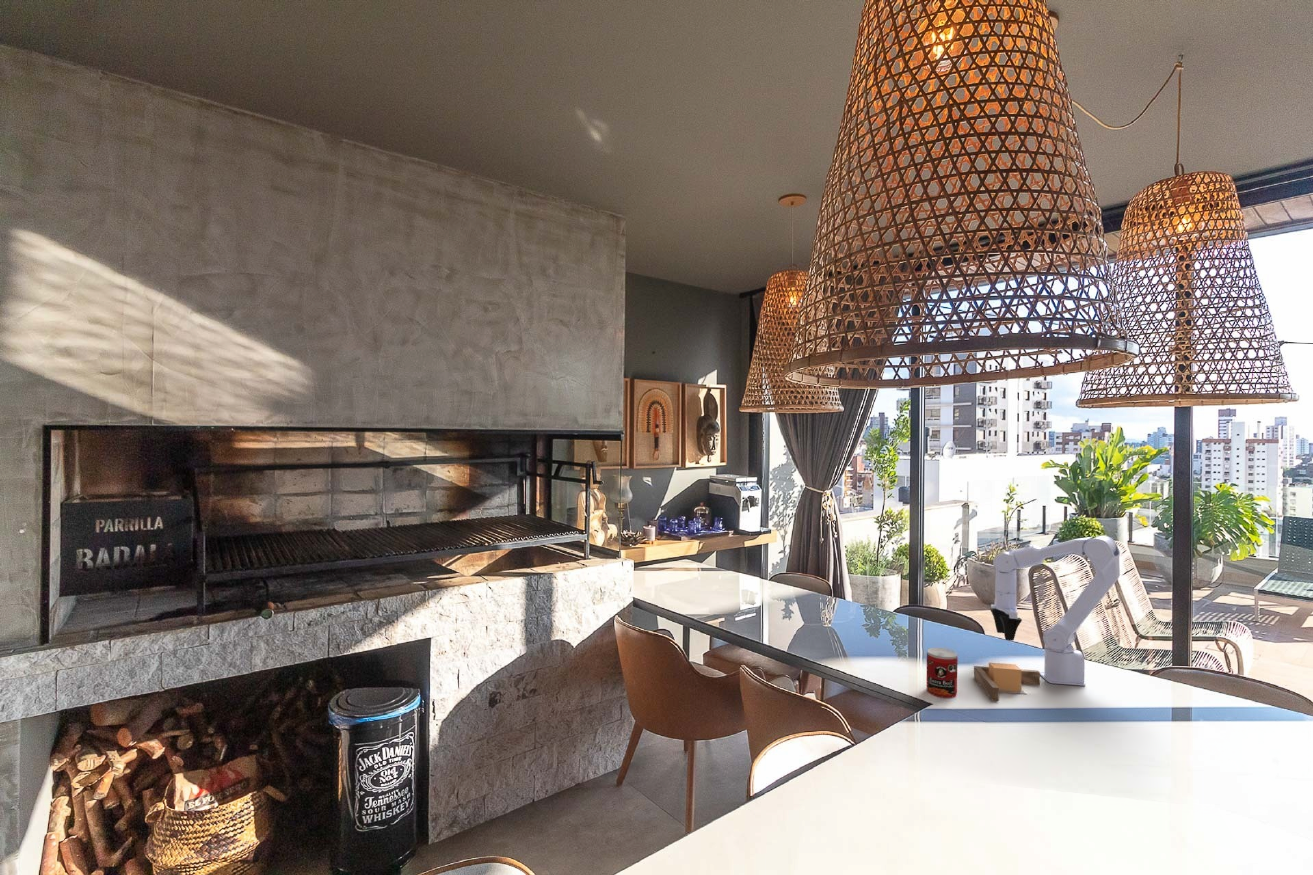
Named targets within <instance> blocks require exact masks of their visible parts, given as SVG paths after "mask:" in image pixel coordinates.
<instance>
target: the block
mask: <svg viewBox="0 0 1313 875" xmlns="http://www.w3.org/2000/svg"><path fill="white" fill-rule="evenodd" d="M988 667H989V673H988V676H989V677H990V679H991V680H992V681H993V682H994V683H995V684H996V685H997V686H998V688H999V690H1005V691H1019V692H1021V689H1022V683H1021V669H1022V668H1021V667H1019V666H1018V665H1017V664H1015V663H1000V662H988Z"/></svg>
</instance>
